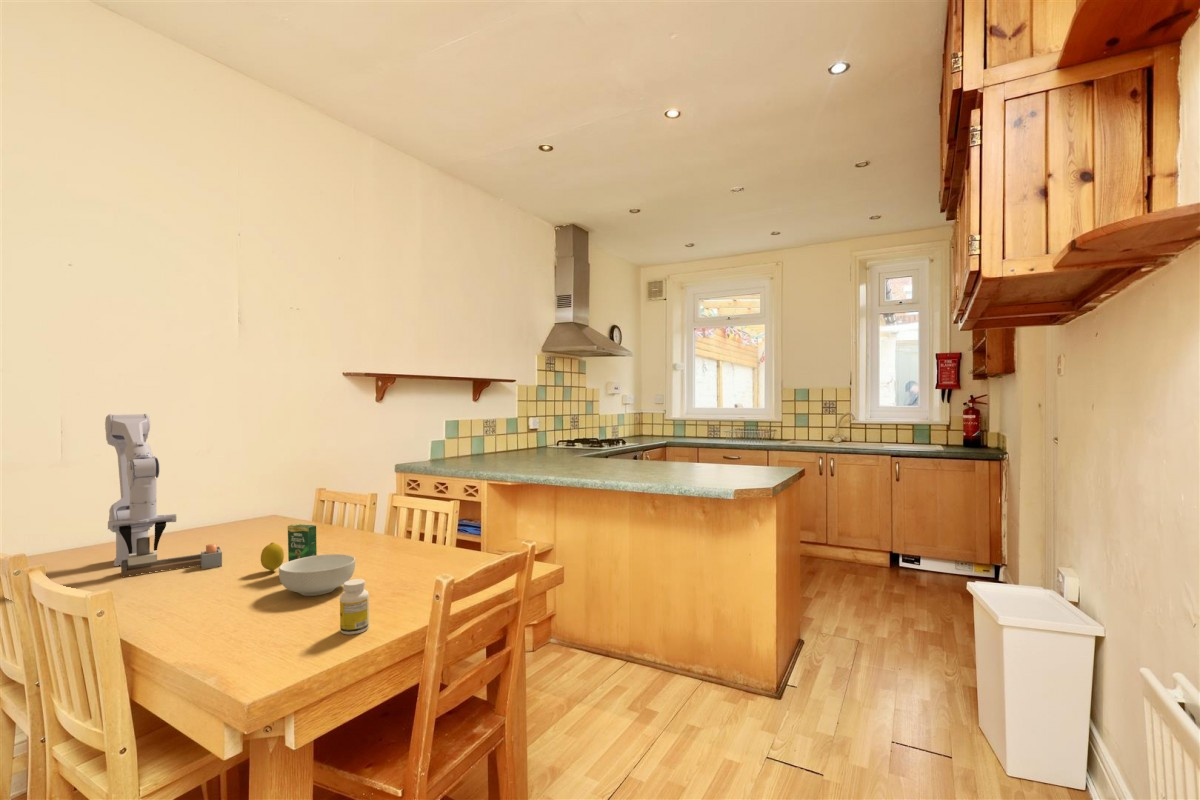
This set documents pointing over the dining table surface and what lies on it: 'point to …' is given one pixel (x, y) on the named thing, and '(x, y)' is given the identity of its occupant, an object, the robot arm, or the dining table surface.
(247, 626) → the dining table surface
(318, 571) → the cereal bowl
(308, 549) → the coffee box
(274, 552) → the lemon
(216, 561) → the box
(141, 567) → the rail board
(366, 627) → the supplement bottle
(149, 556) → the carriage
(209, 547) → the orange cylindrical peg
